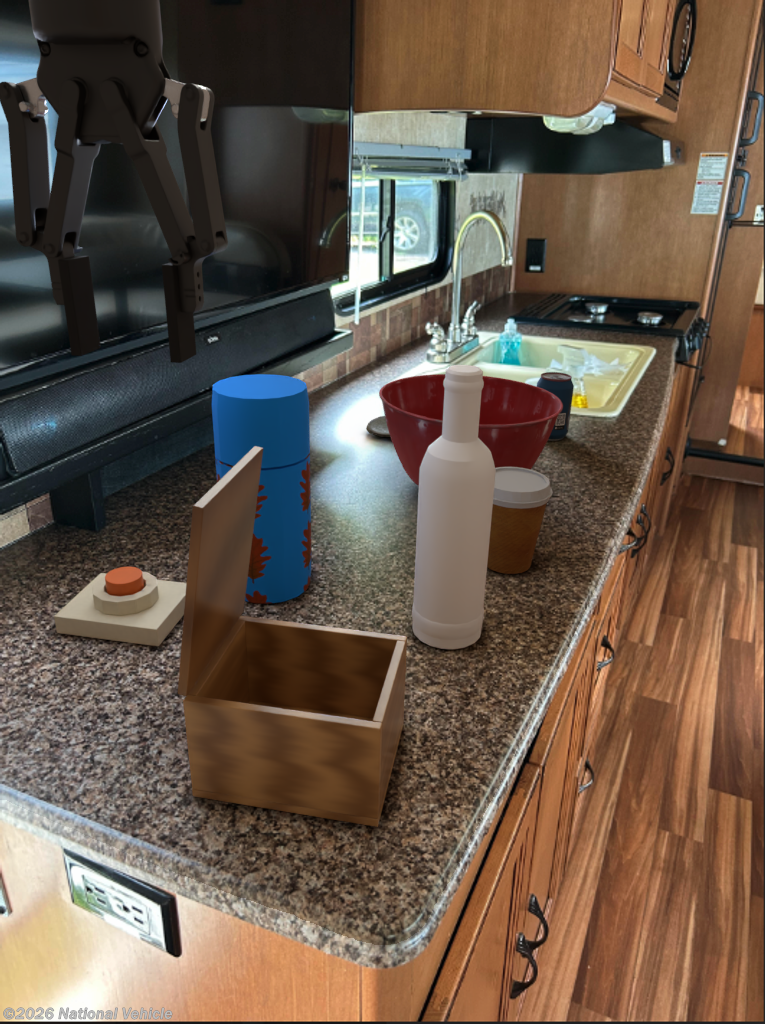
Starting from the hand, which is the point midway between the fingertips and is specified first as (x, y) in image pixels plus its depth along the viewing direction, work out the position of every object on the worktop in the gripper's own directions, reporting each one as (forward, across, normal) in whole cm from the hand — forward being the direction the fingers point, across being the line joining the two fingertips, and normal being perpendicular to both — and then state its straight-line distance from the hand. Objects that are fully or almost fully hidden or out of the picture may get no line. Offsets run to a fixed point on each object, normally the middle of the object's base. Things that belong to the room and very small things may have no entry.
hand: (134, 354), depth 55 cm
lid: (+35, -4, -90) cm, 97 cm away
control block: (+35, +14, -18) cm, 42 cm away
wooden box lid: (+17, -6, 0) cm, 18 cm away
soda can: (+35, -34, -96) cm, 108 cm away
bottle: (+35, -22, -23) cm, 47 cm away
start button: (+31, +14, -18) cm, 39 cm away
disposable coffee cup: (+35, -28, -41) cm, 61 cm away
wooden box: (+35, -12, 0) cm, 37 cm away
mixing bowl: (+35, -20, -66) cm, 77 cm away
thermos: (+35, +1, -29) cm, 46 cm away
